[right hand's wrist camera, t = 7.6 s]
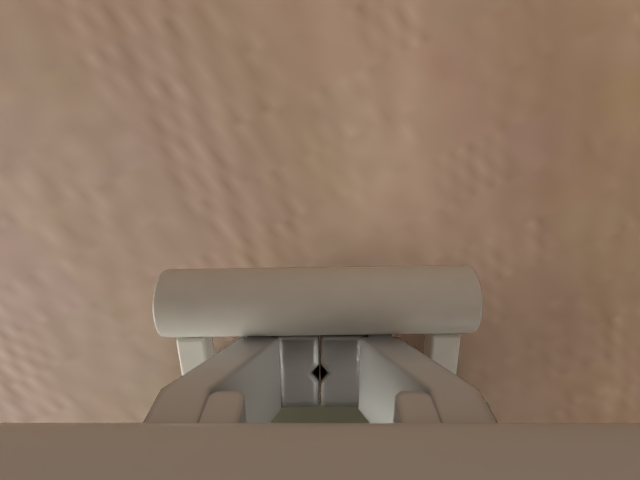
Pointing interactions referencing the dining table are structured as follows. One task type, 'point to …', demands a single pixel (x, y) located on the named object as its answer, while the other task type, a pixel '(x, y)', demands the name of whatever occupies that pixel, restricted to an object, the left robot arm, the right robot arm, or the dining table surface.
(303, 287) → the drawer
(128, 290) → the dining table surface
